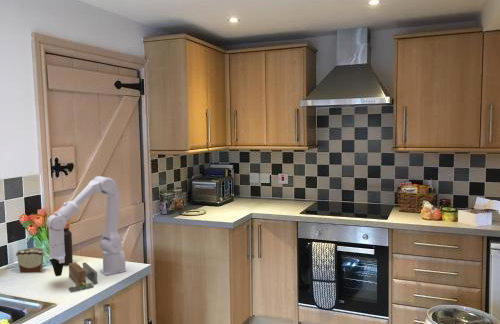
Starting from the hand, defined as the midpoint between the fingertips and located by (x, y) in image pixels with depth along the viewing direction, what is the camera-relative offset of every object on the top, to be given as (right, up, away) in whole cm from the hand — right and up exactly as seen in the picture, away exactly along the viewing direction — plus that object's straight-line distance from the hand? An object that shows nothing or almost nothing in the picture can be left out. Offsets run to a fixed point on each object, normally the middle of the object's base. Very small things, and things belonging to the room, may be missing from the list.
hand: (58, 275), depth 178 cm
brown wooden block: (+7, -4, +4) cm, 9 cm away
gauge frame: (+7, -4, +4) cm, 9 cm away
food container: (-20, -3, +18) cm, 27 cm away
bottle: (-9, -2, +27) cm, 29 cm away
